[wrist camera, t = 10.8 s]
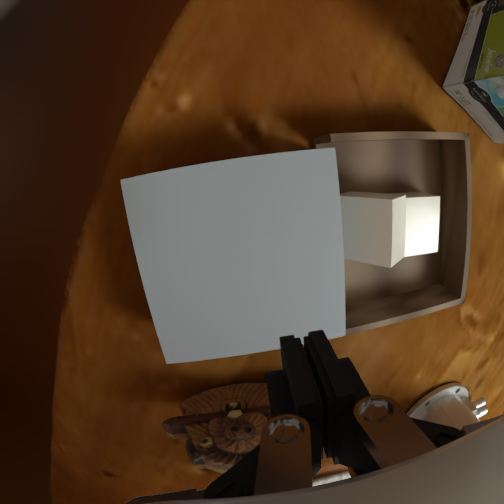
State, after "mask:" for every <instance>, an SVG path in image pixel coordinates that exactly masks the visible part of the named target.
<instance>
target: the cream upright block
mask: <svg viewBox="0 0 504 504" xmlns="http://www.w3.org/2000/svg"><path fill="white" fill-rule="evenodd" d="M340 202H341V215H342V230H343V247H344V259H347V260H353V261H358V262H363V263H368V264H373V265H378V266H384V267H389V268H391V267H393V266H394V265H395V264H396V263H397V262H399V261H400V260H401V259H402V258H403V257H404V253H405V229H406V195H399V194H386V193H372V192H356V191H350V192H346V193H342V194H340Z"/></svg>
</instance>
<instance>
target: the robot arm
mask: <svg viewBox="0 0 504 504" xmlns="http://www.w3.org/2000/svg"><path fill="white" fill-rule="evenodd" d="M279 339H280V348H281V356H282V365H283V370H277V371H271V372H265V376H266V383H267V390H268V397H269V404H270V410H271V417H272V419H270V420H269V421H267V422H266V423H265V425H264V426H263V428H262V431H261V440H260V444H258V445H257V446H256V447H255V448H254V449H253V450H252V451H250V452H249V453H248V454H247V455H246V456H244V457H243V458H242V459H241V460H240V461H238V462H237V463H236V464H235V465H234V466H232V467H231V468H230V469H229V470H227V471H226V472H225V473H224V474H222V475H221V476H220V477H218V478H217V479H216V480H215V481H213V482H212V483H211V484H210V485H209V486H208V487H207V488H206V489H203V490H198V491H197V490H196V488H194V489H188V490H183V491H177V492H171V493H164V494H157V495H149V496H141V497H137V498H133V499H132V500H130V501H128V502H127V504H504V415H501V416H498V417H495V418H491V419H488V420H484V421H481V422H480V420H479V419H478V418H480V417H482V416H484V415H485V414H486V413H487V407H486V406H485V403H486V401H485V399H484V398H483V397H482V398H480V399H478V400H476V401H475V402H471V401H470V400H469V393H468V390H467V389H466V388H465V386H464V385H462V384H460V383H449V384H445V385H443V386H440V387H438V388H436V389H435V390H433V391H431V392H430V393H428V394H427V395H425V396H424V397H423V398H421V399H420V400H419V401H418V402H417V403H416V404H415V405H414V406H413V407H412V408H411V409H410V410H409V411H408V412H407V413H405V412H404V411H403V410H402V409H401V407H400V406H399V405H398V404H397V403H396V402H395V401H394V400H392V399H391V398H388V397H386V396H380V395H375V396H370V394H369V392H368V390H367V388H366V387H365V385H364V383H363V381H362V379H361V378H360V376H359V374H358V372H357V371H356V369H355V367H354V365H353V364H352V362H351V360H350V359H349V358H348V357H346V358H342V359H338V358H337V356H336V354H335V352H334V350H333V348H332V346H331V344H330V343H329V341H328V339H327V337H326V335H325V333H324V331H323V330H317V331H311V332H308V336H304V338H303V339H304V348H303V345H302V342H301V339H300V337H298V338H295V337H294V335H288V336H282V337H279ZM323 447H324V450H325V454H326V457H327V458H330V457H332V458H333V462H334V465H336V464H342V465H344V466H347V467H348V471H349V474H350V476H351V477H352V478H348V479H344V480H340V481H336V482H332V483H328V484H323V485H318V486H313V487H312V478H313V476H314V475H315V474H316V473H317V472H318V471H319V470H320V468H321V459H323Z"/></svg>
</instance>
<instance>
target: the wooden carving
mask: <svg viewBox="0 0 504 504" xmlns="http://www.w3.org/2000/svg"><path fill="white" fill-rule="evenodd" d="M180 408H181V411H182V415H183V416H178V417H174V418H170V419H167V420H165V421H164V422H163V427H164V429H165V430H166V431H165V432H166V434H167V435H168V436H170V437H172V438H174V439H187V438H188V439H187V442H186V449H187V453H188V455H189V457H190V459H191V460H192V462H193V464H194V466H195V468H196V469H198V470H200V469H204V468H207V469H210V470H213V471H216V472H220V473H225V472H226V471H227V470H229V469H230V468H231V467H232V466H234V465H235V464H236V463H237V462H238V461H240V460H241V459H242V458H243V457H244V456H246V455H247V454H248V453H249V452H250V451H252V450H253V449H254V448H255V447H256V446H257V445H258V444H260V440H261V431H262V428H263V426H264V425H265V423H266V422H267V421H269V420H270V419H272V417H271V410H270V404H269V397H268V390H267V383H253V382H251V383H246V382H245V383H238V384H232V385H226V386H223V387H217V388H213V389H210V390H206V391H204V392H201V393H199V394H197V395H194V396H192V397H191V398H188V399H186V400H184V401H182V403H181V404H180Z"/></svg>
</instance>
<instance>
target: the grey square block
mask: <svg viewBox="0 0 504 504" xmlns="http://www.w3.org/2000/svg"><path fill="white" fill-rule="evenodd" d="M120 181H121V187H122V193H123V198H124V203H125V208H126V213H127V218H128V223H129V228H130V233H131V237H132V242H133V246H134V250H135V255H136V259H137V263H138V267H139V271H140V275H141V279H142V283H143V286H144V290H145V294H146V298H147V301H148V305H149V308H150V312H151V315H152V319H153V322H154V325H155V329H156V332H157V335H158V338H159V342H160V345H161V348H162V351H163V354H164V357H165V360H166V363H167V364H172V363H182V362H192V361H200V360H209V359H217V358H224V357H232V356H239V355H245V354H252V353H258V352H264V351H270V350H276V349H281V348H280V339H279V337H282V336H288V335H294V337H295V338H298V337H300V339H301V342H302V345H303V344H304V339H303V338H304V336H308V332H311V331H317V330H323V331H324V333H325V335H326V337H327V339H333V338H337V337H342V336H345V333H346V316H345V269H344V247H343V230H342V215H341V202H340V190H339V180H338V170H337V160H336V151H335V148H322V149H311V150H300V151H291V152H281V153H273V154H265V155H257V156H249V157H242V158H235V159H228V160H221V161H215V162H209V163H203V164H197V165H191V166H185V167H180V168H174V169H169V170H164V171H159V172H154V173H149V174H144V175H140V176H135V177H130V178H126V179H121V180H120Z"/></svg>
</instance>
